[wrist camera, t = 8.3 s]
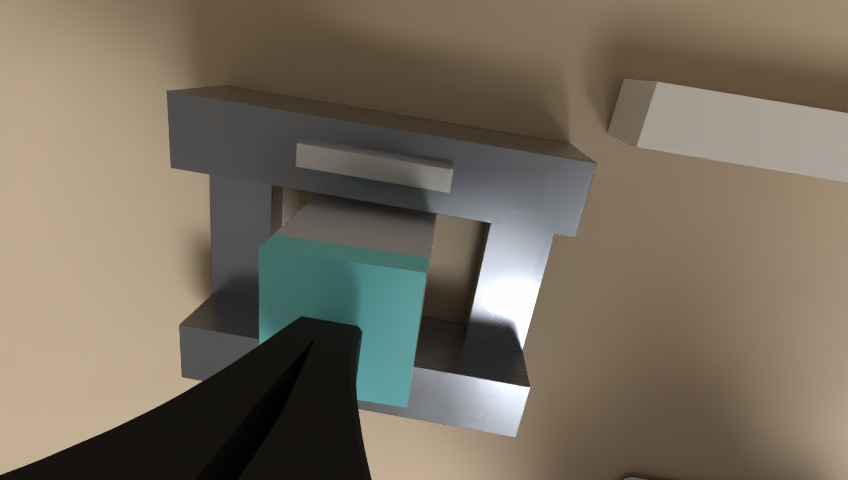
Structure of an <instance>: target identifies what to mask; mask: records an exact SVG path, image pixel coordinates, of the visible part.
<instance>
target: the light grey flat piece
mask: <svg viewBox="0 0 848 480" xmlns="http://www.w3.org/2000/svg"><path fill="white" fill-rule="evenodd" d="M608 134H610V135H612V136H614V137H616V138H618V139H621V140H623V141H625V142H627V143H629V144H631V145H633V146H635V147H639V148H645V149H651V150H657V151H663V152H669V153H675V154H680V155H686V156H692V157H698V158H704V159H710V160H716V161H722V162H728V163H734V164H740V165H746V166H752V167H758V168H763V169H769V170H775V171H781V172H787V173H793V174H799V175H805V176H811V177H817V178H823V179H829V180H835V181H841V182H846V183H848V113H844V112H838V111H832V110H826V109H820V108H814V107H808V106H802V105H796V104H790V103H784V102H778V101H772V100H766V99H760V98H754V97H748V96H742V95H736V94H730V93H724V92H718V91H711V90H705V89H699V88H693V87H687V86H681V85H675V84H669V83H663V82H657V81H646V80H635V79H625V78H624V79H623V83H622V86H621V89H620V93H619V96H618V99H617V103H616V106H615V109H614V113H613V116H612V119H611V123H610V126H609V129H608Z"/></svg>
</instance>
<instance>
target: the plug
mask: <svg viewBox="0 0 848 480" xmlns="http://www.w3.org/2000/svg"><path fill="white" fill-rule="evenodd" d="M436 217H437V213H431V212H425V211H419V210H414V209H408V208H402V207H396V206H390V205H385V204H379V203H373V202H367V201H361V200H356V199H350V198H344V197H338V196H332V195H327V194H321V193H318V194H317V195H316V196H315V197H314V198H313V199H312V200H311V201H309V202H308V203H307V204H306V205H305V206H304V207H303V208H302V209H301V210H300V211H298V212H297V213H296V214H295V215H294V216H293V217H292V218H291V219H290V220H289V221H288V222H286V223H285V224H284V225H283V226H282V227H281V228H280V229H279V230H278V231H277V232H275V233H274V234H273V235H272V236H271V237H270V238H269V239H268V240H267V241H266V242H264V243H263V244H262V245H261V246H260V247H259V345H260V344H261V343H263V342H264V341H266V340H267V339H269V338H270V337H271V336H273V335H274V334H276V333H277V332H279V331H280V330H281V329H283V328H284V327H286V326H287V325H289V324H290V323H292V322H293V321H295V320H296V319H298V318H299V317H301V316H304V317H310V318H316V319H321V320H327V321H333V322H338V323H344V324H350V325H356V326H358V327H359V328H360V329H361V330H362V340H361V348H360V356H359V364H358V372H357V381H356V388H357V400H361V401H368V402H374V403H380V404H387V405H393V406H399V407H406V408H407V405H408V399H409V392H410V386H411V380H412V373H413V367H414V361H415V354H416V348H417V342H418V336H419V329H420V323H421V317H422V310H423V304H424V298H425V291H426V285H427V278H428V271H429V264H430V257H431V251H432V244H433V237H434V230H435V223H436Z"/></svg>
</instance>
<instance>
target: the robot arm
mask: <svg viewBox="0 0 848 480" xmlns="http://www.w3.org/2000/svg"><path fill="white" fill-rule="evenodd" d="M361 340H362V330H361V329H360V328H359V327H358V326H356V325H350V324H344V323H338V322H333V321H327V320H321V319H316V318H310V317H304V316H301V317H299V318H298V319H296V320H295V321H293V322H292V323H290V324H289V325H287V326H286V327H284V328H283V329H281V330H280V331H279V332H277V333H276V334H274V335H273V336H271V337H270V338H269V339H267V340H266V341H264V342H263V343H261V344H260V345H259V346H257V347H256V348H254V349H253V350H251V351H250V352H248V353H247V354H245V355H244V356H242V357H241V358H239V359H238V360H236V361H235V362H233V363H232V364H230V365H229V366H227V367H226V368H224V369H222V370H221V371H219V372H217V373H216V374H214V375H212V376H211V377H209V378H207V379H206V380H204V381H202V382H201V383H199V384H197V385H196V386H194V387H192V388H191V389H189V390H187V391H186V392H184V393H182V394H180V395H179V396H177V397H175V398H173V399H171V400H170V401H168V402H166V403H164V404H162V405H160V406H158V407H156V408H154V409H152V410H150V411H148V412H146V413H144V414H142V415H140V416H138V417H136V418H134V419H132V420H130V421H128V422H126V423H124V424H122V425H120V426H118V427H116V428H113V429H111V430H109V431H107V432H104V433H102V434H100V435H97V436H95V437H93V438H90V439H88V440H86V441H83V442H81V443H79V444H76V445H74V446H72V447H69V448H67V449H65V450H62V451H60V452H58V453H55V454H53V455H51V456H48V457H46V458H44V459H41V460H39V461H36V462H34V463H31V464H29V465H26V466H23V467H21V468H18V469H15V470H13V471H10V472H7V473H5V474H2V475H0V480H372V479H371V475H370V471H369V467H368V462H367V458H366V453H365V448H364V443H363V438H362V432H361V425H360V418H359V411H358V402H357V388H356V381H357V372H358V364H359V356H360V348H361ZM624 480H646V479H641V478H635V477H629V478H625V479H624Z"/></svg>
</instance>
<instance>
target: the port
mask: <svg viewBox="0 0 848 480" xmlns="http://www.w3.org/2000/svg"><path fill="white" fill-rule="evenodd" d="M167 102H168V121H169V140H170V160H171V168H176V169H182V170H187V171H193V172H199V173H205V174H210V218H211V266H212V295H211V296H210V297H209V298H208V299H207V300H206V301H205V302H204V303H203V304H201V305H200V306H199V307H198V308H197V309H196V310H195V311H194V312H193V313H192V314H191V315H190V316H188V317H187V318H186V319H185V320H184V321H183V322H182V323H181V324H180V325H179V331H180V350H181V369H182V377H184V378H190V379H195V380H201V381H204V380H206V379H207V378H209V377H211V376H212V375H214V374H216V373H217V372H219V371H221V370H222V369H224V368H226V367H227V366H229V365H230V364H232V363H233V362H235V361H236V360H238V359H239V358H241V357H242V356H244V355H245V354H247V353H248V352H250V351H251V350H253V349H254V348H256V347H257V346H259V247H260V246H261V245H262V244H263V243H264V242H266V241H267V240H268V239H269V238H270V237H271V236H272V235H273V234H274V233H275V232H277V231H278V230H279V229H280V228H281V221H282V197H283V187H286V188H292V189H298V190H303V191H309V192H315V193H321V194H327V195H332V196H338V197H344V198H350V199H356V200H361V201H367V202H373V203H379V204H385V205H390V206H396V207H402V208H408V209H414V210H419V211H425V212H431V213H437V214H443V215H448V216H454V217H460V218H466V219H472V220H477V221H483V222H487V227H486V231H485V236H484V240H483V245H482V249H481V254H480V258H479V263H478V268H477V272H476V277H475V281H474V286H473V290H472V295H471V300H470V304H469V309H468V313H467V318H466V322H465V324H461V323H456V322H450V321H444V320H439V319H433V318H427V317H421V323H420V329H419V336H418V342H417V348H416V354H415V361H414V367H413V373H412V380H411V386H410V392H409V399H408V405H407V408H406V407H399V406H393V405H387V404H380V403H374V402H368V401H361V400H357V402H358V409H362V410H367V411H373V412H378V413H384V414H389V415H395V416H401V417H406V418H412V419H417V420H423V421H428V422H434V423H439V424H445V425H450V426H456V427H462V428H467V429H473V430H478V431H484V432H489V433H495V434H500V435H506V436H512V437H516V433H517V430H518V427H519V423H520V420H521V417H522V413H523V410H524V407H525V403H526V400H527V397H528V393H529V390H530V384H529V380H528V375H527V370H526V365H525V360H524V356H523V351H522V348H523V345H524V341H525V338H526V334H527V331H528V327H529V323H530V320H531V316H532V313H533V309H534V306H535V302H536V298H537V295H538V291H539V288H540V284H541V281H542V277H543V273H544V270H545V266H546V263H547V259H548V256H549V252H550V248H551V245H552V241H553V238H554V234H559V235H564V236H570V237H575V236H576V233H577V229H578V226H579V223H580V219H581V216H582V212H583V209H584V206H585V202H586V199H587V196H588V192H589V189H590V186H591V182H592V179H593V176H594V172H595V169H596V166H597V163H596V162H594V161H593V160H592V159H590V158H589V157H587V156H586V155H585V154H583V153H582V152H581V151H579V150H578V149H577V148H575V147H574V146H573V145H571V144H568V143H562V142H556V141H550V140H544V139H538V138H533V137H527V136H521V135H515V134H509V133H503V132H497V131H491V130H485V129H479V128H473V127H467V126H461V125H456V124H450V123H444V122H438V121H432V120H426V119H420V118H414V117H408V116H402V115H396V114H390V113H385V112H379V111H373V110H367V109H361V108H355V107H349V106H343V105H337V104H331V103H325V102H319V101H314V100H308V99H302V98H296V97H290V96H284V95H278V94H272V93H266V92H260V91H254V90H248V89H242V88H237V87H231V86H225V85H224V86H213V87H202V88H191V89H180V90H169V91H167Z"/></svg>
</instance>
